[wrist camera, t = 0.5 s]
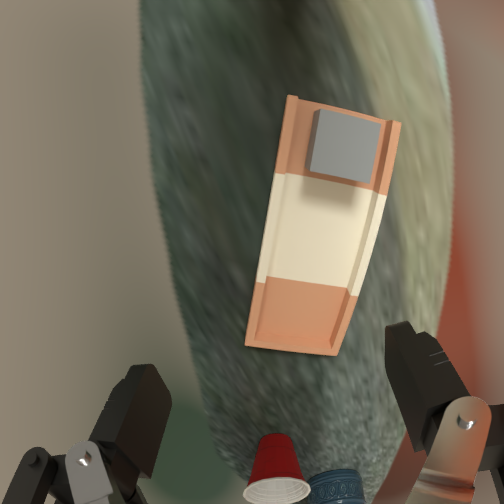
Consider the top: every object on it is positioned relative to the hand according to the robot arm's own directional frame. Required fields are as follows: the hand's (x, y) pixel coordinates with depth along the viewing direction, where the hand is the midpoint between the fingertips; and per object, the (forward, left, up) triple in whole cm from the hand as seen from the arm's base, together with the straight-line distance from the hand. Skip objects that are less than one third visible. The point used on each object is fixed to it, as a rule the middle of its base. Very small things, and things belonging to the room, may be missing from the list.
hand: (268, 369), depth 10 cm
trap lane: (+2, +6, -26) cm, 27 cm away
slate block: (-8, +6, -25) cm, 27 cm away
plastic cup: (+41, +9, -26) cm, 50 cm away
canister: (+58, +26, -26) cm, 69 cm away
